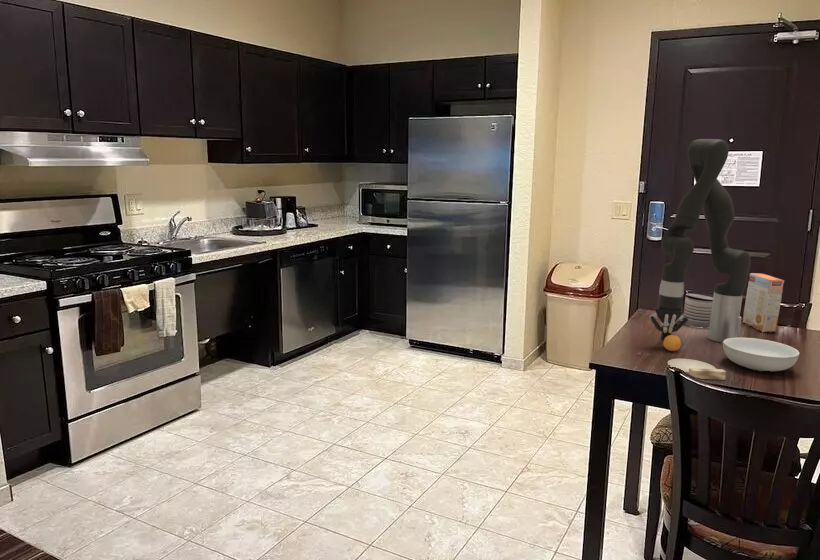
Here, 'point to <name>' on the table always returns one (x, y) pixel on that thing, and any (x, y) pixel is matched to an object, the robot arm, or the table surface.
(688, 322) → the can
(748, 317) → the cracker box
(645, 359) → the table surface
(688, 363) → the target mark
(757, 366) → the serving bowl
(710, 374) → the stopper strip
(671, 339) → the ball
